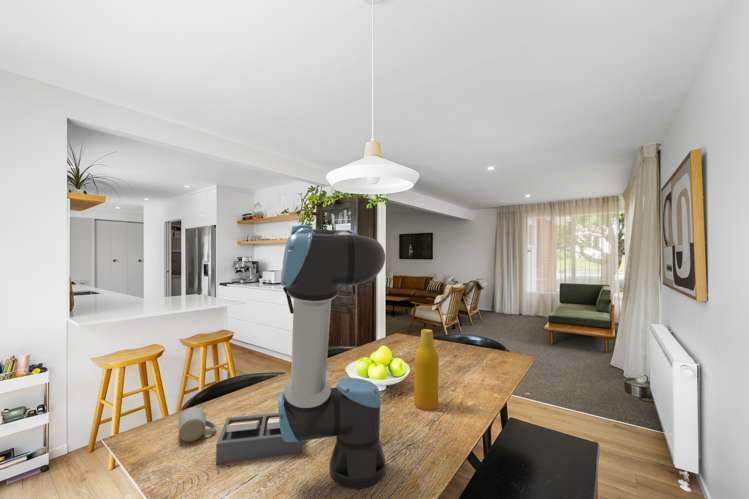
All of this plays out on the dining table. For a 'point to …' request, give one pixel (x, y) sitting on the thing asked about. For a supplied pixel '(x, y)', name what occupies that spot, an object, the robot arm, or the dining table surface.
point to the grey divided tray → (254, 440)
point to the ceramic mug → (194, 424)
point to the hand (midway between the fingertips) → (300, 332)
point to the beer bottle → (426, 373)
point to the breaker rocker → (242, 426)
